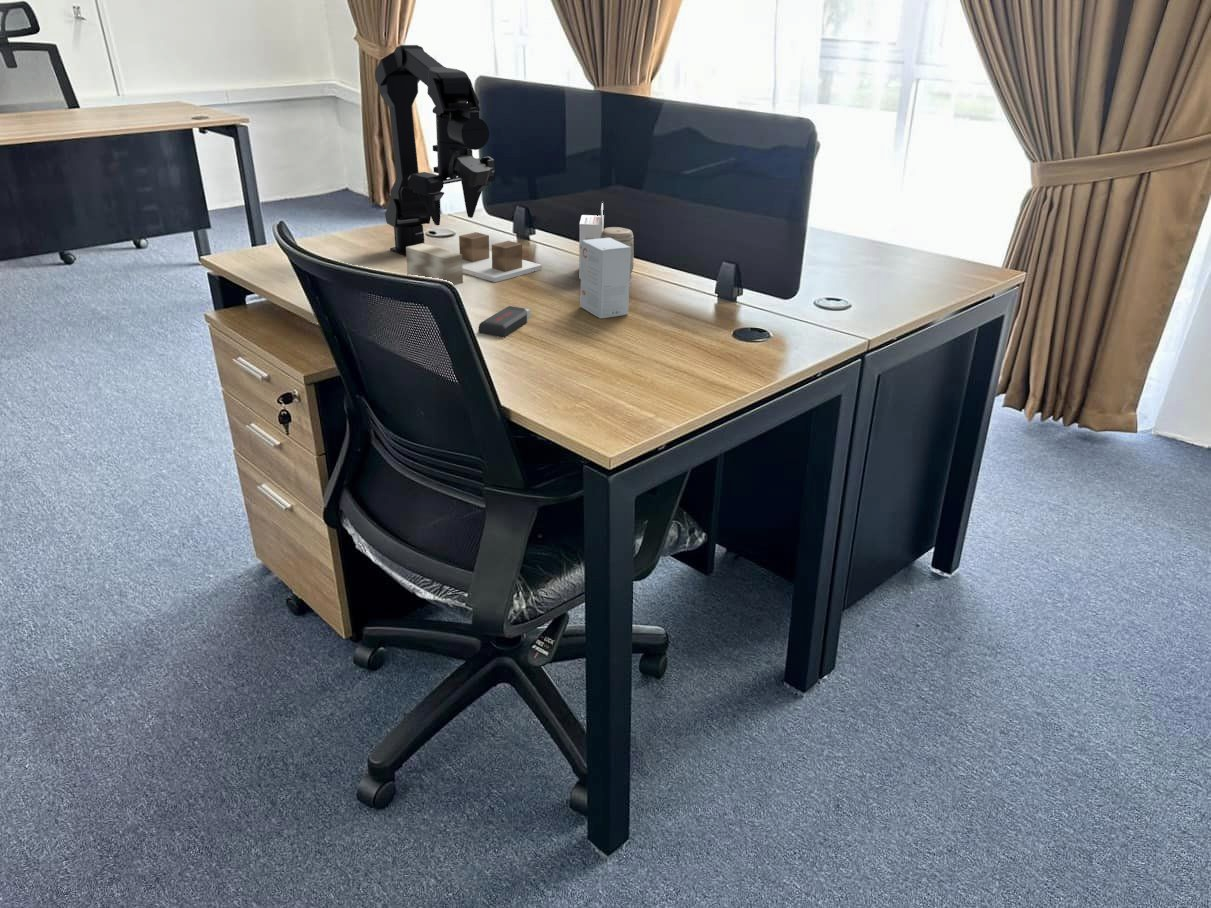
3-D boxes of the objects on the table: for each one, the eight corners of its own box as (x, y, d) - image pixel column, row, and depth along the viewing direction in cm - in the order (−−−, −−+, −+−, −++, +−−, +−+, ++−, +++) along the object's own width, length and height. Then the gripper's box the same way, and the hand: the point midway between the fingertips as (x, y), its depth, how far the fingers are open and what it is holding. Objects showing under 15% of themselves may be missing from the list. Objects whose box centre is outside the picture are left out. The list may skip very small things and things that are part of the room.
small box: (628, 315, 177) (632, 246, 172) (599, 319, 175) (601, 250, 169) (607, 302, 184) (610, 236, 178) (579, 306, 181) (580, 239, 175)
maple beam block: (407, 275, 196) (405, 246, 193) (424, 271, 199) (422, 243, 196) (446, 287, 189) (445, 258, 186) (462, 283, 192) (461, 254, 190)
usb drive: (478, 335, 166) (477, 320, 165) (509, 316, 176) (509, 302, 175) (504, 340, 164) (504, 325, 163) (534, 320, 174) (534, 306, 173)
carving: (638, 290, 192) (641, 231, 186) (605, 294, 188) (607, 234, 183) (623, 281, 197) (625, 224, 191) (591, 285, 193) (592, 227, 188)
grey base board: (439, 265, 203) (439, 261, 202) (486, 254, 212) (486, 249, 212) (495, 282, 193) (494, 277, 193) (541, 269, 203) (541, 264, 202)
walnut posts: (459, 258, 204) (459, 235, 202) (476, 254, 208) (476, 232, 206) (505, 271, 197) (505, 248, 194) (522, 267, 200) (522, 244, 198)
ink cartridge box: (579, 268, 205) (581, 199, 198) (602, 269, 205) (604, 200, 198) (577, 279, 197) (579, 208, 191) (601, 280, 197) (603, 209, 191)
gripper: (445, 152, 172) (448, 237, 179) (515, 141, 185) (515, 221, 192) (404, 143, 178) (408, 226, 185) (474, 133, 191) (476, 211, 198)
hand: (454, 221), depth 190 cm, fingers open, 9 cm apart
